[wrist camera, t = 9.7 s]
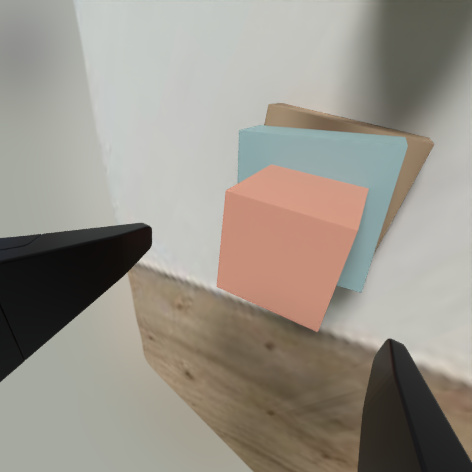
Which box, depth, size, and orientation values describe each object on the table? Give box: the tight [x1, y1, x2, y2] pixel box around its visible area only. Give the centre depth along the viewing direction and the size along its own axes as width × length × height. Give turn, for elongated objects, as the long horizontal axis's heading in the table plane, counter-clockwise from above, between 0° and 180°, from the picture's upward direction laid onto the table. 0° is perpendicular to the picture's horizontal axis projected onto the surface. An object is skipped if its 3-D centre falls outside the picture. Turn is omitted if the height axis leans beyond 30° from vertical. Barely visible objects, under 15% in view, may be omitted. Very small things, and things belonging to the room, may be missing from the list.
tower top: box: [238, 125, 408, 293], centre depth 16 cm, size 8×8×3 cm
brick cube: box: [217, 164, 369, 332], centre depth 13 cm, size 5×5×5 cm
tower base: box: [264, 103, 434, 253], centre depth 18 cm, size 9×9×3 cm
